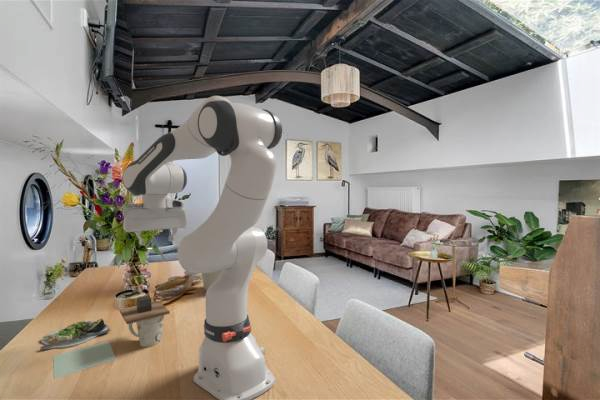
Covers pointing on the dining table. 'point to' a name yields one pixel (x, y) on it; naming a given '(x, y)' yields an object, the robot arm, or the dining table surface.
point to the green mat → (82, 359)
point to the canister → (210, 278)
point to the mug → (149, 331)
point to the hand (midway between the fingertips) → (157, 242)
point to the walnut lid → (143, 310)
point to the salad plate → (75, 334)
